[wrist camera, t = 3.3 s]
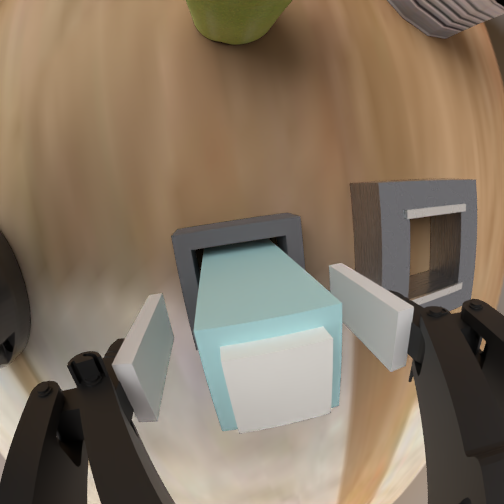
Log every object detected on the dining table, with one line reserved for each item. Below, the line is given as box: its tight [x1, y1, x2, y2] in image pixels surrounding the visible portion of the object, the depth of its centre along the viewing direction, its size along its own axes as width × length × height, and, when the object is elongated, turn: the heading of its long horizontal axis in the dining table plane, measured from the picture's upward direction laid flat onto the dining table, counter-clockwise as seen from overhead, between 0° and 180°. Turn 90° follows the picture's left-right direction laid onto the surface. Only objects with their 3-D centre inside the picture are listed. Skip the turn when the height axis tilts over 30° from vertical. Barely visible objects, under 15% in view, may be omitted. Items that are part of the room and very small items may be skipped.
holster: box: [171, 213, 305, 350], centre depth 19 cm, size 8×8×3 cm
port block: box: [350, 179, 477, 311], centre depth 20 cm, size 11×11×4 cm
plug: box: [194, 238, 342, 434], centre depth 14 cm, size 4×4×13 cm
